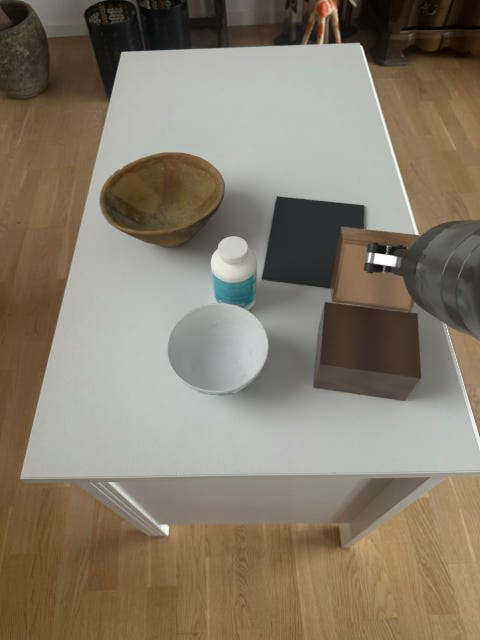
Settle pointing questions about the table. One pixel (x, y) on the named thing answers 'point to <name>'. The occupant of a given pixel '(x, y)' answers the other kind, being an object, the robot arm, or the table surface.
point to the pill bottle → (234, 273)
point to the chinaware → (217, 348)
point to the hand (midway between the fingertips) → (412, 258)
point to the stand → (367, 351)
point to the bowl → (162, 197)
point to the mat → (307, 239)
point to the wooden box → (358, 284)
